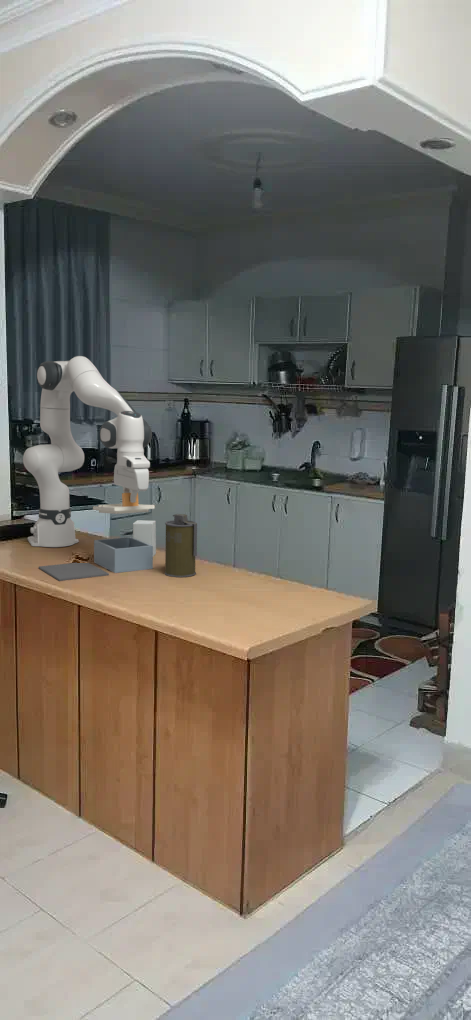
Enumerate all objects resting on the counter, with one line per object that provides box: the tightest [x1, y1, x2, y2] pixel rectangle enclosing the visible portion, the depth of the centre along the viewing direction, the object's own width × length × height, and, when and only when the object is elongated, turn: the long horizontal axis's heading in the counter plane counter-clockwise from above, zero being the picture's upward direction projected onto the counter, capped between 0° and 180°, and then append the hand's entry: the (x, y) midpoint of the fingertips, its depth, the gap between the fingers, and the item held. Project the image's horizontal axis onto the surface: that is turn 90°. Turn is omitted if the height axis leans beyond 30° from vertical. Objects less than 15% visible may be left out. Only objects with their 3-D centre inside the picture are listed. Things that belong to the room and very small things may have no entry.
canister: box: [164, 513, 198, 578], centre depth 263 cm, size 11×10×20 cm
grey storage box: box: [93, 536, 154, 574], centre depth 274 cm, size 18×14×8 cm
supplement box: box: [132, 519, 157, 557], centre depth 291 cm, size 7×7×13 cm
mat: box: [38, 562, 110, 582], centre depth 264 cm, size 20×17×1 cm
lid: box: [92, 492, 155, 515], centre depth 271 cm, size 19×15×7 cm
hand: (130, 501), depth 266 cm, fingers closed on lid, 2 cm apart
